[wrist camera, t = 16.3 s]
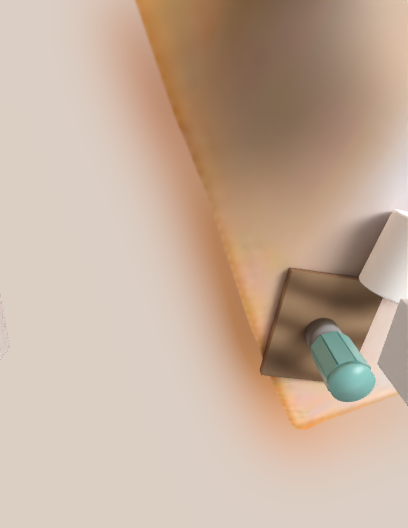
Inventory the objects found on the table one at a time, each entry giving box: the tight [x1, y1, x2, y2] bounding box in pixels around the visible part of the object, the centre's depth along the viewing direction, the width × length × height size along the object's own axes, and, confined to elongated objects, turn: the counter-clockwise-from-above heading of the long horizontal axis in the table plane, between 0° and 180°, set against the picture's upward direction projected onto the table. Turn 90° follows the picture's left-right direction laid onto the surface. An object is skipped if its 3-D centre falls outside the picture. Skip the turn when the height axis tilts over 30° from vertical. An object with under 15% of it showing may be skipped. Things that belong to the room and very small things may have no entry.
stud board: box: [260, 268, 383, 382], centre depth 48 cm, size 18×14×10 cm
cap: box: [311, 331, 375, 402], centre depth 45 cm, size 5×5×7 cm
